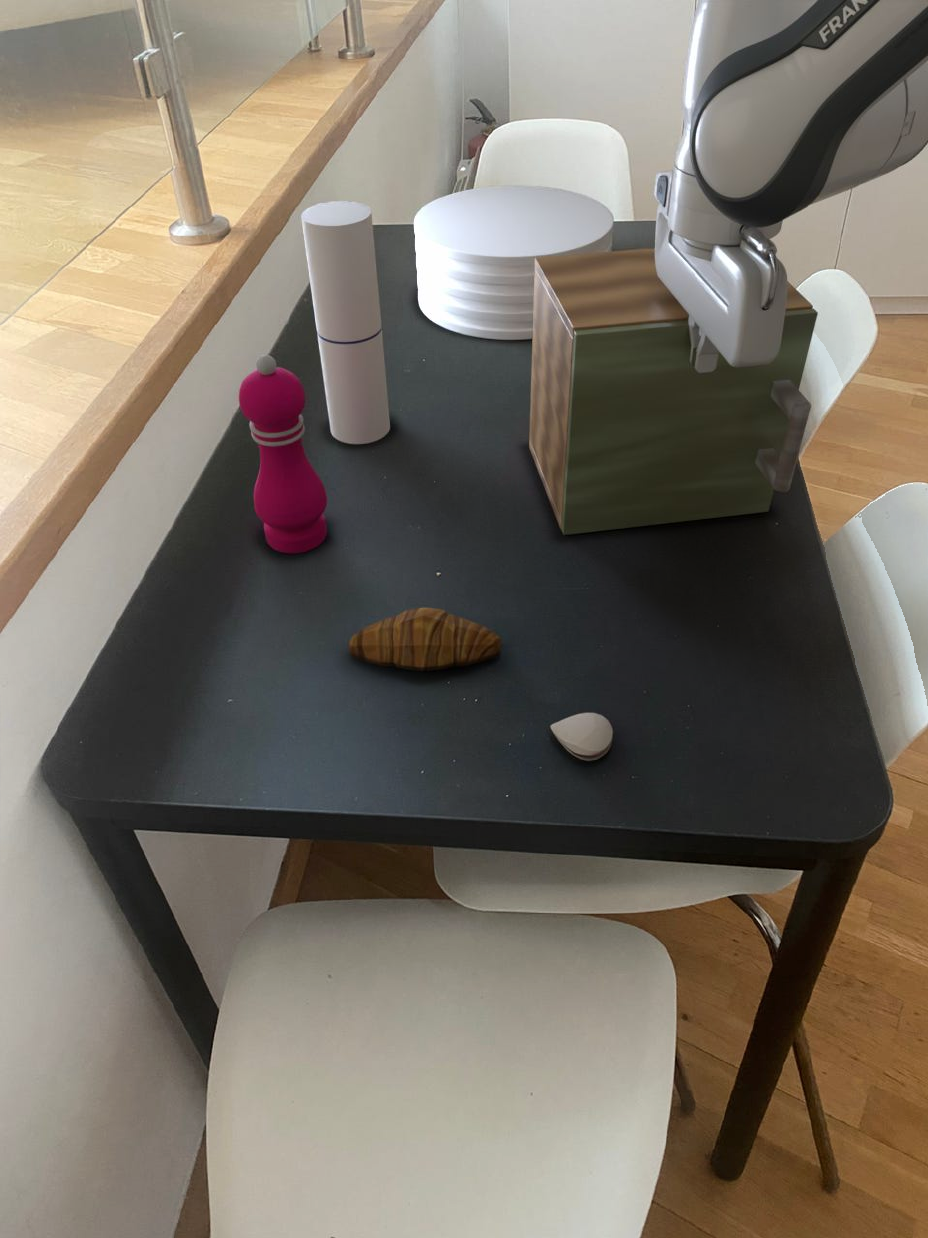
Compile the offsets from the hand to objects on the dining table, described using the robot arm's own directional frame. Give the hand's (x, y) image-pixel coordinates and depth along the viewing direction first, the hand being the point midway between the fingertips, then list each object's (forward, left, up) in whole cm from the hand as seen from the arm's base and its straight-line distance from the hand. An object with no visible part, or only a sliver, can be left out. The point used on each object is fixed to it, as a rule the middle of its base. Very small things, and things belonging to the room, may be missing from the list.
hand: (701, 367), depth 81 cm
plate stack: (+5, -60, -19) cm, 63 cm away
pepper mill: (+38, -7, -19) cm, 43 cm away
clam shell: (+16, +25, -19) cm, 35 cm away
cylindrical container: (+30, -27, -19) cm, 45 cm away
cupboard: (0, -11, -19) cm, 22 cm away
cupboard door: (0, 0, -18) cm, 18 cm away
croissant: (+27, +13, -19) cm, 35 cm away
